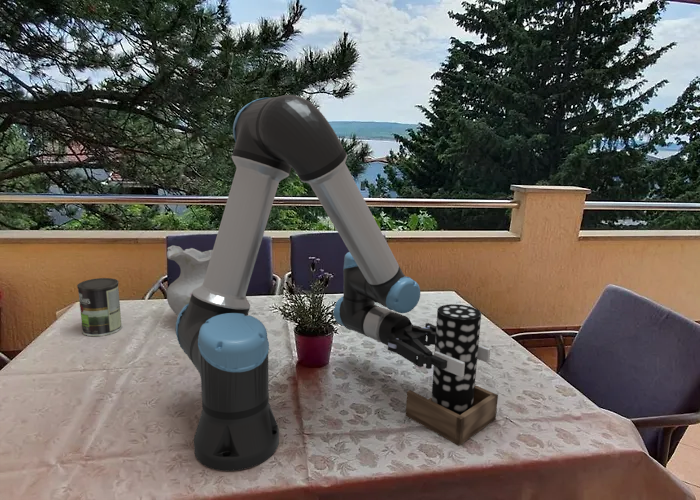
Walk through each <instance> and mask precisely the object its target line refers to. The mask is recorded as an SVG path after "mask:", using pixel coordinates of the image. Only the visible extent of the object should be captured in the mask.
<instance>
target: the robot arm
mask: <svg viewBox="0 0 700 500" xmlns="http://www.w3.org/2000/svg"><path fill="white" fill-rule="evenodd" d="M232 134H233V139H234V142H235V143H234V146H233V147H234V148H233V151H232V154H231V159H232V161H233V164H234V165H235V167H236V169H235V173H234V176H233V178H232V179H233V180H232V182H231V187H230V191H229V193H228V196H227V200H226V204H225V207H224V211H223V213H222V218H221V221H220V225H219V228H218V231H217V235H216V238H215V241H214V244H213V248H212V250H213V251H212V255H211V258H210V262H209V265H208V268H207V272H206V275H205V279H204V282H203V285H202V286H200V287H198V288H196V289H195V290H193V292H192V295H191V298H190V301H189V303H188V304H187V305H185V306H184V307H183V309H182V310H181V311H180V313H179V315H177V318H176V321H175V335H176V338H177V341H178V345H179V348H180V349H182V351H183V353H184V354H185V355H186V356H187V357H188V359H189V360H190V361H191V363H192V364H193V366H194V367H195V368H196V370H197V371H198V374H199V375H200V376H199V378H200V383H201V385H200V386H201V390H200V391H201V405H202V407H201V408H202V411H201V414H200V416H199V420H198V423H197V426H196V430H195V432H194V436H193V448H194V449H193V450H194V455H195V459H196V460H197V461H198V462H199V463H201V464H202V465H203V466H204V467H207V468H209V469H211V470H215V471H222V472H225V471H226V472H234V471H242V470H246V469H251V468H252V467H256V466H258V465H260V464H262V463H264V462H265V461H267V460H268V459H269V458H270V457H271V456H272V455H274V453H275V452H276V450H277V449H278V446H279V444H280V443H279V442H280V432H279V431H280V430H279V424H278V422H277V420H276V417H275V414H274V413H273V412H274V411H273V409H272V407H271V405H270V401H269V399H270V396H269V392H270V391H269V389H270V387H269V385H270V384H269V382H270V381H269V350H270V343H269V339H268V332H267V328H266V326H265V324H264V323H263V322H262V321H261V320H259V319H258V318H257V317H255V316H253V315H249V312H250V309H251V303H250V302H249V300H248V298H247V296H246V294H247V291H248V289H249V284H250V281H251V279H252V274H253V272H254V267H255V264H256V261H257V259H258V255H259V252H260V251H259V250H260V248H261V244H262V241H263V238H264V234H265V231H266V228H267V225H268V220H269V218H270V214H271V211H272V209H273V204H274V199H275V196H276V193H277V192H278V191H277V190H278V187H279V183H280V182H281V181H282V180H284V179H286V178H288V177H289V176H290V174H291V171H292V170H291V169H293V170H294V172H295V173H296V175H297V177H298V178H299V180H300V181H301V183H306V184H309V186H310V188H311V189H312V191H313V192H314V194H315V196H316V197H317V199H318V201H319V202H320V205H321V206H322V207H323V209H324V211H325V213H326V215H327V216H328V219H330V221H331V223H332V225H333V226H334V228H335V229H336V232H337V233H338V235H339V237H340V238H341V239H342V241H343V244H344V245H345V247H346V248H347V250H348V252H346V254H345V255H344V257H343V258H344V260H343V261H344V262H343V268H342V269H343V295H342V296H341V297H340V298H338V299H337V300H336V302H335V306H334V307H333V310H332V311H333V314H332V315H333V318H334V320H335V322H336V323H337V324H339V325H340V326H343V327H344V328H345V329H347V330H349V331H354V332H356V333H359V334H361V335H363V336H365V337H368V338H370V339H371V340H374V341H376V342H378V343H382V344H383V345H386V346H387V350H388V351H389V352H392V353H395V354H397V355H399V356H401V357H402V358H404V359H405V360H407V361H409V362H411V364H414V365H415V366H417V367H419V368H422V367H424V365H425V368H426V369H428V370H431V369H432V367H434V366H436V367H439V368H441V369H444V370H446V371H448V372H451V373H453V374H455V375H457V376H460V377H463V376H464V369H465V362H462V361H460V360H457V359H455V358H452V357H450V356H447V355H445V354H442V353H440V352H437V351H436V352H435V351H434V352H433V351H431V349H430V348H428V347H429V346H432V345H433V346H435V339H436V325H434V324H432V323H429V322H426V323H425V325H424V327H422V326H419V325H414V324H413V322H411V320H410V319H409V317H408V316H406V315H403V314H408V313H410V312H411V311H413V310H414V308H415V307H416V306H418V304H419V302H420V299H421V287H420V285H419V283H418V282H417V281H416V280H414V279H412V278H411V277H410V276H406V275H405V274H404V272H403V270H402V268H401V266H400V265H399V263H398V261H397V259H396V258H395V255H394V254H393V251H392V249H391V248H390V246H389V244H388V241H386V239H385V236H384V234H383V233H382V230H381V228H380V227H379V225H378V223H377V221H376V219H375V217H374V215H373V213H372V212H371V210H370V208H369V206H368V204H367V202H366V200H365V199H364V197H363V194H362V192H361V191H360V189H359V187H358V185H357V183H356V181H355V180H354V179H355V178H353V175H352V174H351V172H350V170H349V168H348V166H347V164H346V162H347V158H348V154H347V152H346V150H345V148H344V147H343V144H342V143H341V141H340V139H339V137H338V135H337V134H336V132H335V130H334V128H333V127H332V125H331V124H330V122H329V121H328V120H327V118H326V117H325V116H324V115H323V113H322V112H321V111H320V110H319V108H318V107H317V106H315V105H314V104H313V103H312V102H311V101H309V100H307V99H305V98H304V97H301V96H298V95H294V94H284V95H280V96H276V97H262V98H258V99H255V100H252V101H251V102H249V103H247V104H246V105H244V106H243V107H242V108H241V109H239V111H238V112H237V114H236V116H235V118H234V122H233V126H232ZM375 303H378V305H376V304H375ZM379 305H381V306H383V307H381V306H379ZM384 307H385V308H384ZM490 356H491V348H488V347H486V346H483V345H481V344H479V345H478V356H477V360H479V361H482V362H485V363H489V362H490Z"/></svg>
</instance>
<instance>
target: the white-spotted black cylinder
mask: <svg viewBox="0 0 700 500" xmlns="http://www.w3.org/2000/svg"><path fill="white" fill-rule="evenodd" d="M481 320H482V312H481V311H480V310H479V309H477V308H475V307H473V306H469V305H466V304H444V305H441V306H439V307H438V308H437V314H436V325H435V326H436V339H435V345H434V352H436V351H437V352H440V353H442V354H445V355H447V356H450V357H452V358H455V359H457V360H460V361H462V362H465V369H464V376H463V377H460V376H457V375H455V374H453V373H451V372H448V371H446V370H444V369H441V368H439V367H436V366H434V365H433V371H432V372H433V374H432V383H431V384H432V388H431V397H432V398H431V397H430V398H431V401H433V402H435V403H437V404H439V405H441V406H443V407H445V408H447V409H449V410H451V411H453V412H455V413H457V414H459V415H461V414H462V413H464V412H465V411H467V410H468V409H470V408H471V407H473V400H474V389H475V385H476V376H477V368H478V367H477V366H478V365H477V364H478V359H477V356H478V345H480V344H479V343H480V333H481V332H480V331H481V322H482V321H481Z"/></svg>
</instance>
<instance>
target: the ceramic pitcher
mask: <svg viewBox="0 0 700 500" xmlns="http://www.w3.org/2000/svg"><path fill="white" fill-rule="evenodd" d="M166 249H167V252H166V258H167V260H170V261H174V262H175V263H176V264H177V265H178V266H179V268H180V274H179V277H177V278H176V279H175V280H174V281H172V282H171V283H170V284H169V286H168V287H167V291H166V299H167V304H168V305H169V307H170V309H171V310H172V312H173V313H174V314H175V315H176V316H178V315H179V313H180V311H181V310H182V309H183V307H184V306H185V305H187V304H188V303H189V301H190V298H191V295H192V292H193V290H195V289H196V288H198V287H200V286H202V285H203V282H204V279H205V275H206V272H207V268H208V265H209V262H210V258H211V255H212V251H213V249H209V250H205V251H201V250H198V249H195V248H193V247H190V248H186V249H183V248H182V247H180V246H179V245H178V246H177V245H171V246H168V247H167V248H166Z"/></svg>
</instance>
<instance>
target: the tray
mask: <svg viewBox="0 0 700 500" xmlns="http://www.w3.org/2000/svg"><path fill="white" fill-rule="evenodd" d="M431 398H432V396H431V397H428V398H427V397H426V396H424V395H421V394H419V393H417V392H415V391H413V390H411V389H410V390H407V391H406V401H405V417H407V418H409V419H411V420H412V421H414V422H416V423H418V424H419V425H422V426H423V427H425V428H427V429H428V430H430V431H432V432H434V433H435V434H437V435H439V436H440V437H442V438H444V439H446V440H448V441H450V442H452V443H453V444H455V445H456V446H460V445H462V444H464V443H466V441H468V440H469V439H471V438H472V437H473V436H475V435H476V434H478V433H479V432H480V431H482V430H483V429H484V428H486V427H487V426H488V425H490V424H491V423H493V422H494V421H495V420H496V418H497V410H498V399H499V394H496V393H494V392H493V391H490V390H487V389H485V388H483V387H481V386H478V385H476V384H475V389H474V400H473V407H471V408H470V409H468V410H467V411H465V412H464V413H462V414H461V415H459V414H457V413H455V412H453V411H451V410H449V409H447V408H445V407H443V406H441V405H439V404H437V403H435V402H433V401H431Z"/></svg>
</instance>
